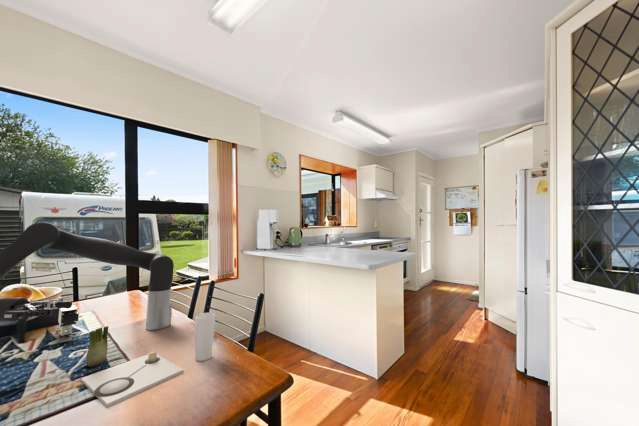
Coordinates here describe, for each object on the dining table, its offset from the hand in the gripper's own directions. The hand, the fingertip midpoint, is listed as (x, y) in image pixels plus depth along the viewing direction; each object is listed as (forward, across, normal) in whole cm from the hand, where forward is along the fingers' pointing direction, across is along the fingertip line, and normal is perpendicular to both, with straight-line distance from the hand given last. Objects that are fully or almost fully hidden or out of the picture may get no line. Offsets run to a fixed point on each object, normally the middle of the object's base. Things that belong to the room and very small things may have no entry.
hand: (62, 308), depth 86 cm
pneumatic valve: (-16, +30, +19) cm, 40 cm away
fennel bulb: (+11, 0, +19) cm, 22 cm away
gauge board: (+27, -10, +19) cm, 34 cm away
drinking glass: (+45, -1, +19) cm, 49 cm away
